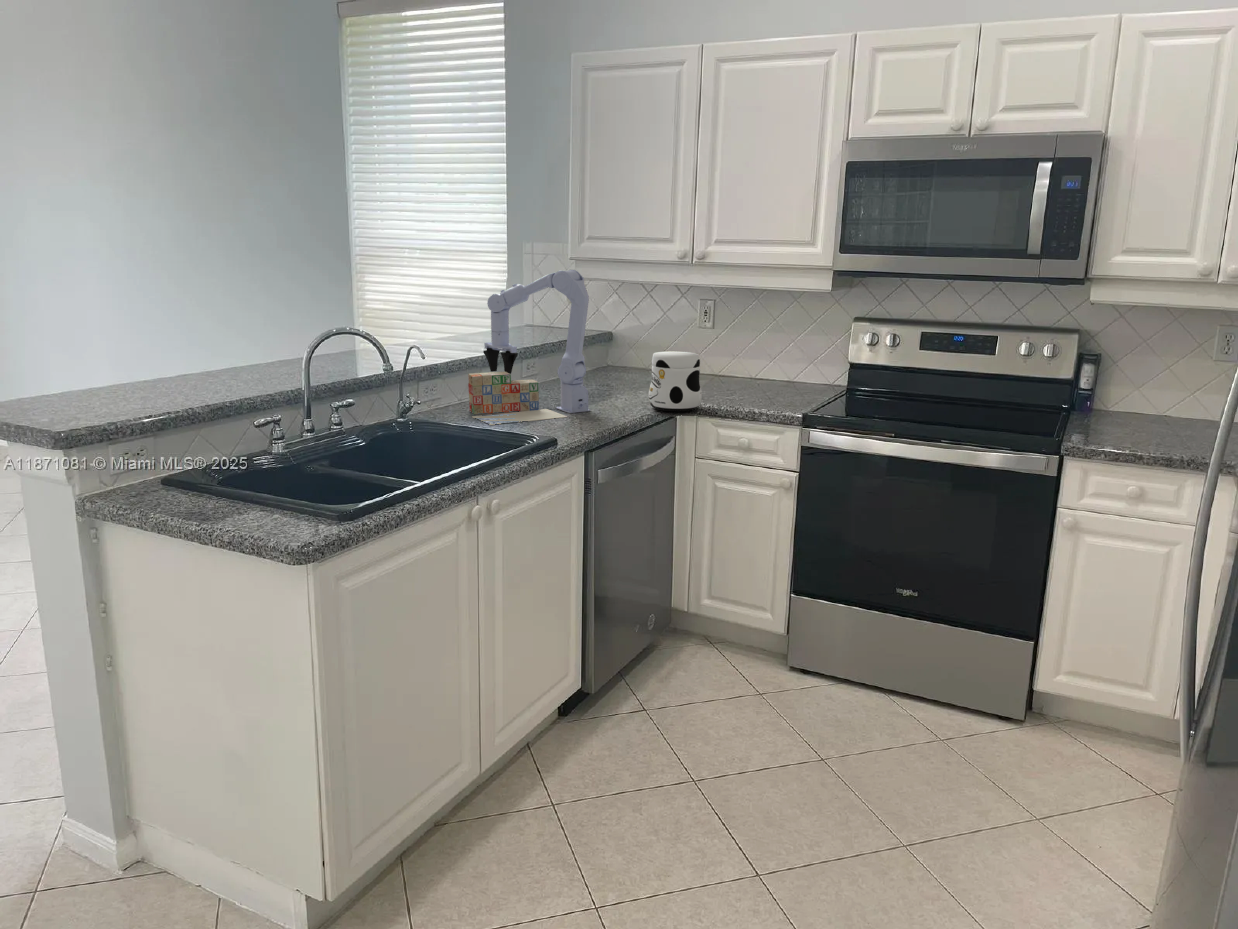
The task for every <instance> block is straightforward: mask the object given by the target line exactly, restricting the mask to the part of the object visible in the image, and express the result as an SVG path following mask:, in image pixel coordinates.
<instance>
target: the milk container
mask: <svg viewBox="0 0 1238 929" xmlns="http://www.w3.org/2000/svg"><path fill="white" fill-rule="evenodd" d="M700 373H701V355H700V354H699V353H695V352H692V351H691V352H690V351H678V350H677V351H676V350H675V351H672V350H671V351H668V350H667V351H658V352H657V351H656V352H654V353H652V357H651V381H650V386H649V390H648V401H649V402H648V403H649V405H650V406H651V407H652V408H654V409H657V410H660V411H666V412H687V411H694V410H695V409H698V408H699V407H700V406H701V402H702V398H703V392H702V387H701V383H700V381H701V380H700V378H701V377H700V376H701V374H700Z"/></svg>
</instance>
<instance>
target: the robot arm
mask: <svg viewBox="0 0 1238 929" xmlns="http://www.w3.org/2000/svg"><path fill="white" fill-rule="evenodd" d="M548 288H549V289H555V290H556V291H558V292H559V293H561V294H562V295H564V296H565V297H566V298H567V299H568V300H569V302H570V303H571V305H570V311H569V312H570V313H569V321H568V329H567V337H566V338H567V339H566V345H565V346H566V347H565V352H564V354H563V356H562V358H561V362H560V365H559V366H558V368H557V370H556V371H557V377H558V379H559V380H560V405H559V406H555V409H556V410H560V411H562V412H565V413H568V414H575V413H584V412H591V409H589V390H588V388H587V387H586V386H584V379H583V378H584V377H585V376H586V374H587V367H586V362H585V361H586V358H585V355H584V354H583V351H584V350H583V349H584V342H585V332H586V326H587V317H588V309H589V303H590V297H589V293H588V290H587V288H586V284H585V278H584V277H583V275H581V273H580V272H579V271H578V270H576V269H569V270H568V269H567V270H558V271H556V272H551V273H548V274H546V275H544V276H542V277H540V278H538V279H536V280H534V281H532V282H530V283H528V284H526V285H524V284H522V283H513V284H512V286H511V287H510V288H507V289H506V290H505V289H501V290H500V293H493V294H491V295H490V296H489V297H488V300H487V303H486V304H487V307H488V309H489V311H490V332H491V333H490V334H491V335H490V338H491V342H484V349H485V350H482V352H483V354H484V356H485V358H486V360H487V363H488V366H489V369H490V370H489V372H498V371H497V370H498V363H499V362H498V360H499V354H500V355H501V358H502V361H503V370H504V371H503V372H507V373H509V374H511V375H512V371H513V368H514V363H515V362H516V359H517V357H518V356H519V354H518V351H517V350H518V349H517V348H518V346H516V345H512V343H510V326H509V324H510V323H509V322H510V321H509V318H510V317H509V314H510V310H511V308H513V307H516V306H519V305H521V304H522V303H524V302H525V303H526V302H527V301H528V300H529V297H530V296H531V295H533V294H535V293H538V292H541V291H543V290H546V289H548Z"/></svg>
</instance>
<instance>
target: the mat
mask: <svg viewBox="0 0 1238 929" xmlns="http://www.w3.org/2000/svg"><path fill="white" fill-rule="evenodd" d="M501 414H516V415H509V416H507V415H503V416H500V415H499V416H482V415H475V416H471V418H472V419H475V418H515V419H507V420H503V419H502V420H500V419H498V420H481V421H480V422H482V421H519V422H518V423H523V422H522V421H528V422H535V421H537V422H538V421H543V420H553V419H554V418H556V419H563V418H565V419H566V418H569V416H567V415H564V414H563V413H559V412H556V411H554V410H550V409H548V408H544V409H543V408H542V409H539V410H532V411H519V412H504V413H501ZM554 420H555V419H554ZM520 421H521V422H520ZM497 424H499V425H502V424H501V423H497ZM488 426H496V425H495V424H491V423H490V424H489V425H488Z"/></svg>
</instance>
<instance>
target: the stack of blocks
mask: <svg viewBox="0 0 1238 929" xmlns="http://www.w3.org/2000/svg"><path fill="white" fill-rule="evenodd" d="M467 376H468V388H467V389H468V400H469V401H468V402H469V403H468V404H469V406H468V407H469V412H470V411H471V412H470V413H472V412H473V413H472V414H473V415H479V414H478V413H488V414H495V413H494V412H504V413H510V412H509V411H519V412H522V411H532V410H540V409H539V408H540V405H539V404H540V403H539V402H540V398H539V396H540V393H539V392H540V391H539V382H538V381H537V380H535V379H516V380H512V373H511V374H509V373H507V372H505V371H493V372H491V371H489V372H474V373H468V374H467Z"/></svg>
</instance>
